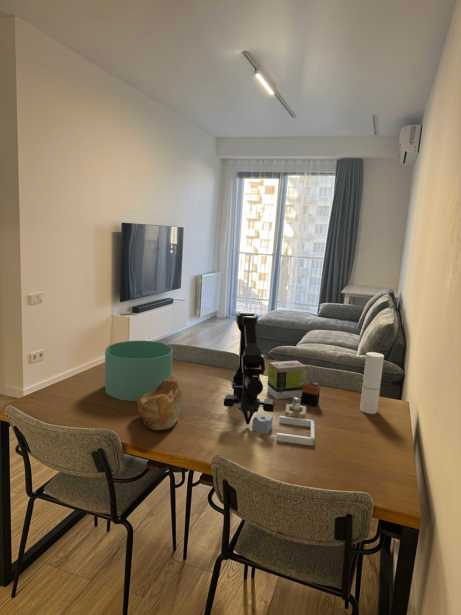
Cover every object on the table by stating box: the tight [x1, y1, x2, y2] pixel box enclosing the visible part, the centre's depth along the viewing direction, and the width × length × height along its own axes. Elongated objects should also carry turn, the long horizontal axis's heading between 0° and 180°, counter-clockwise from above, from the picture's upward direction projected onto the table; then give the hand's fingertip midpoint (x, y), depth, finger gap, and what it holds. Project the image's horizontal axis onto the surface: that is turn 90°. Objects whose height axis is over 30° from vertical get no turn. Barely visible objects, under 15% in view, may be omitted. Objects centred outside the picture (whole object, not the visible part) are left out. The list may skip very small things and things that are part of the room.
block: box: [251, 412, 274, 434], centre depth 159 cm, size 6×6×5 cm
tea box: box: [266, 360, 308, 400], centre depth 194 cm, size 15×10×15 cm, turn 108°
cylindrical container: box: [359, 351, 385, 415], centre depth 181 cm, size 7×7×25 cm
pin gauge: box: [291, 397, 302, 412], centre depth 170 cm, size 3×3×8 cm
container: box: [104, 340, 174, 402], centre depth 191 cm, size 30×30×19 cm
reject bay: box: [276, 415, 316, 447], centre depth 158 cm, size 13×16×2 cm
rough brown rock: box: [136, 375, 183, 431], centre depth 161 cm, size 23×17×15 cm
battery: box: [300, 380, 321, 408], centre depth 185 cm, size 4×7×10 cm, turn 61°
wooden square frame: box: [284, 403, 307, 419], centre depth 170 cm, size 8×8×4 cm
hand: (247, 424), depth 160 cm, fingers closed
